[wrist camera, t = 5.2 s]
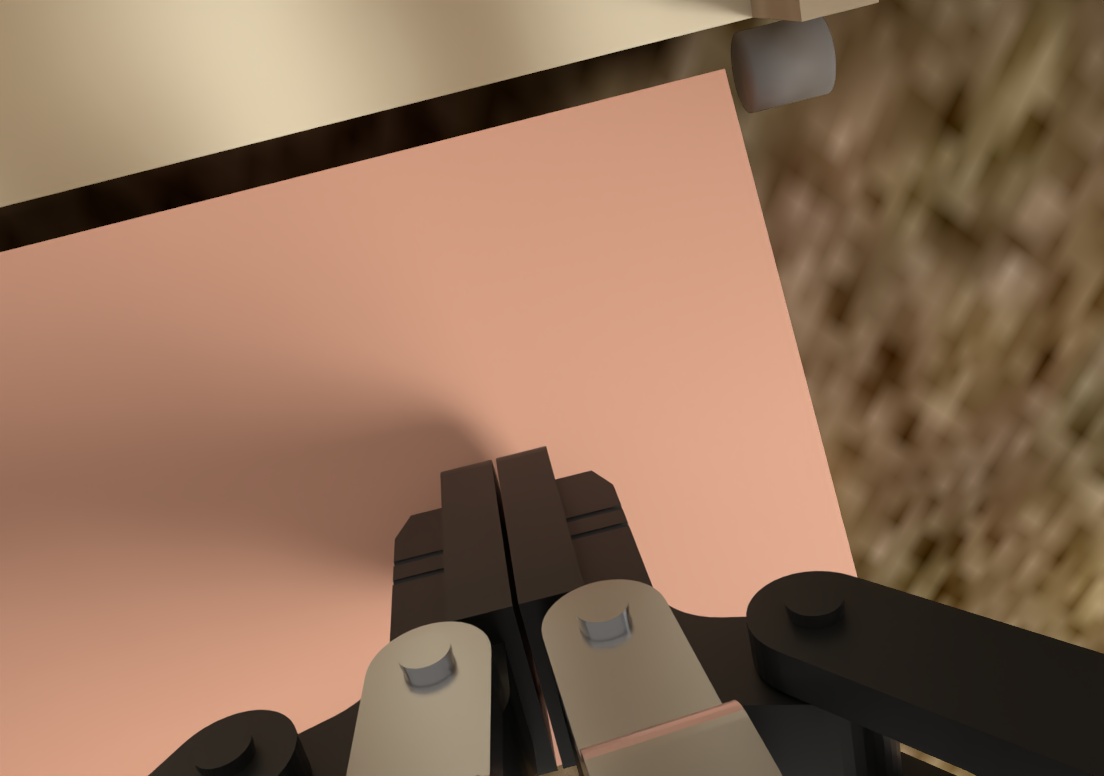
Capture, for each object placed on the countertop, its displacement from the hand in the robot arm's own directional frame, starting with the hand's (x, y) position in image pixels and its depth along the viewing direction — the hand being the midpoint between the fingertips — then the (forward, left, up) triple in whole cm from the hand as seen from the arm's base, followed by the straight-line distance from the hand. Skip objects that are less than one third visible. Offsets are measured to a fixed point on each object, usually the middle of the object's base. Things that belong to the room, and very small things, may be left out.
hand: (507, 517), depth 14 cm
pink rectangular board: (+6, -3, -3) cm, 7 cm away
